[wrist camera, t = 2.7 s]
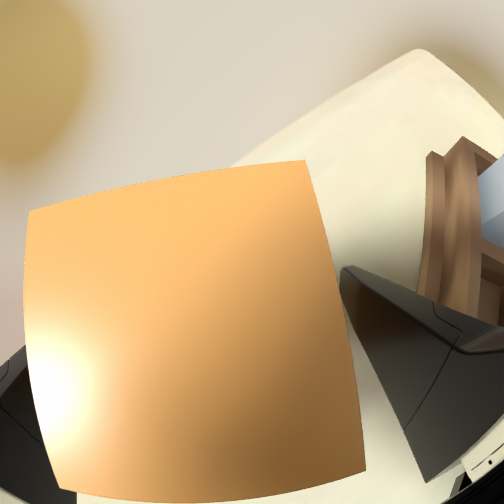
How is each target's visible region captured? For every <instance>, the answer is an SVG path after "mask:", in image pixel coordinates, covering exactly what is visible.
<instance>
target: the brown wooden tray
mask: <svg viewBox="0 0 504 504" xmlns="http://www.w3.org/2000/svg"><path fill="white" fill-rule="evenodd" d="M497 160H498V159H497V158H495V157H494V156H493V155H491V154H490V153H488V152H487V151H485V150H484V149H482V148H481V147H479V146H478V145H476V144H475V143H473V142H471V141H470V140H468V139H467V138H465V137H463V136H462V137H461V138H460V139H459V141H458V142H457V143H456V144H455V145H454V146H453V147H452V148H451V149H450V150H449V152H448V153H447V154H446V155H445V156H444V157H443V156H441V155H439V154H437V153H435V152H433V151H431V152H430V153H429V154H428V156H427V157H426V208H425V225H424V238H423V249H422V258H421V266H420V274H419V281H418V287H417V293H418V294H420V295H422V296H424V297H426V298H429V299H431V300H432V301H435V302H438V303H440V304H442V305H444V306H447V307H449V308H451V309H453V310H456V311H459V312H461V313H464V314H466V315H469V316H472V317H474V318H477V319H480V320H482V321H485V322H488V323H490V324H493V325H496V326H499V327H504V250H503V249H502V248H500V247H498V246H496V245H495V244H493V243H491V242H489V241H488V240H486V239H484V238H482V232H481V208H480V195H479V185H478V176H480V175H481V174H482V173H483V172H484V171H485V170H487V169H488V168H489V167H490V166H491V165H492V164H493V163H495V162H496V161H497Z"/></svg>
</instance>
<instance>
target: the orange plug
mask: <svg viewBox="0 0 504 504" xmlns="http://www.w3.org/2000/svg"><path fill="white" fill-rule="evenodd" d="M24 325H25V340H26V351H27V360H28V368H29V375H30V381H31V387H32V393H33V398H34V403H35V408H36V413H37V417H38V421H39V425H40V429H41V433H42V437H43V440H44V444H45V447H46V450H47V454H48V457H49V460H50V463H51V466H52V469H53V471H54V474H55V477H56V480H57V482H58V485H59V487H60V488H62V489H66V490H70V491H74V492H79V493H83V494H89V495H94V496H100V497H106V498H113V499H120V500H129V501H140V502H154V503H211V502H225V501H236V500H245V499H253V498H260V497H267V496H273V495H278V494H284V493H289V492H293V491H298V490H302V489H307V488H311V487H315V486H319V485H322V484H326V483H329V482H333V481H336V480H340V479H343V478H346V477H349V476H352V475H355V474H358V473H361V472H364V471H366V463H365V451H364V441H363V431H362V423H361V414H360V406H359V399H358V392H357V385H356V378H355V372H354V366H353V359H352V354H351V348H350V342H349V337H348V331H347V326H346V321H345V316H344V311H343V306H342V301H341V296H340V292H339V287H338V283H337V278H336V274H335V269H334V265H333V261H332V257H331V252H330V248H329V244H328V240H327V236H326V233H325V229H324V225H323V221H322V217H321V214H320V210H319V206H318V203H317V199H316V196H315V192H314V189H313V185H312V182H311V178H310V175H309V172H308V168H307V165H306V162H305V160H299V161H288V162H277V163H268V164H259V165H250V166H242V167H234V168H227V169H220V170H213V171H206V172H200V173H193V174H187V175H181V176H176V177H170V178H165V179H159V180H155V181H149V182H144V183H139V184H134V185H130V186H125V187H121V188H116V189H111V190H107V191H103V192H99V193H95V194H90V195H86V196H83V197H79V198H75V199H71V200H68V201H64V202H60V203H57V204H53V205H49V206H46V207H43V208H40V209H36V210H33V211H30V213H29V220H28V228H27V238H26V250H25V264H24Z"/></svg>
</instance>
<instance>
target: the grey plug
mask: <svg viewBox="0 0 504 504" xmlns="http://www.w3.org/2000/svg"><path fill="white" fill-rule="evenodd" d="M478 185H479V195H480V208H481V232H482V238H484V239H486V240H488V241H489V242H491V243H493V244H495V245H496V246H498V247H500V248H502V249H503V250H504V154H503V155H502V156H501V157H500V158H499V159H498V160H497V161H496V162H495V163H493V164H492V165H491V166H490V167H489V168H488V169H487V170H485V171H484V172H483V173H482V174H481V175H480V176H478Z"/></svg>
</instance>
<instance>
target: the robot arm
mask: <svg viewBox="0 0 504 504" xmlns="http://www.w3.org/2000/svg"><path fill="white" fill-rule="evenodd" d="M339 291H340V295H341V297H342V300H343V303H344V305H345V308H346V310H347V313H348V315H349V318H350V321H351V323H352V326H353V328H354V330H355V332H356V334H357V336H358V338H359V340H360V342H361V344H362V346H363V348H364V350H365V352H366V354H367V356H368V358H369V360H370V362H371V364H372V366H373V368H374V370H375V372H376V374H377V376H378V378H379V380H380V382H381V384H382V386H383V388H384V390H385V393H386V395H387V397H388V399H389V401H390V403H391V405H392V407H393V410H394V412H395V414H396V416H397V418H398V420H399V423H400V425H401V427H402V429H403V430H404V434H405V436H406V439H407V441H408V443H409V445H410V448H411V450H412V452H413V455H414V457H415V459H416V462H417V464H418V467H419V469H420V471H421V474H422V476H423V479H424V481H425V483H428V482H430V481H432V480H433V479H435V478H437V477H439V476H440V475H442V474H444V473H445V472H447V471H449V470H450V469H452V468H454V467H455V466H457V465H458V464H460V463H462V465H463V467H464V469H465V470H466V471H465V472H464V473H462V474H461V475H460V476H458V477H457V478H456V480H455V483H454V486H453V489H452V492H451V494H450V497H449V499H447V500H446V501H444V502H442V503H441V504H504V327H499V326H496V325H493V324H490V323H488V322H485V321H482V320H480V319H477V318H474V317H472V316H469V315H466V314H464V313H461V312H459V311H456V310H453V309H451V308H449V307H447V306H444V305H442V304H440V303H438V302H435V301H432V300H431V299H429V298H426V297H424V296H422V295H420V294H418V293H415V292H413V291H411V290H409V289H406V288H404V287H402V286H400V285H397V284H395V283H393V282H390V281H388V280H386V279H384V278H381V277H379V276H377V275H374V274H372V273H370V272H367V271H365V270H363V269H360V268H358V267H356V266H353V265H351V266H345V267H342V268H341V271H340V283H339ZM0 504H77V492H74V491H70V490H66V489H62V488H60V487H59V485H58V482H57V480H56V477H55V474H54V471H53V469H52V466H51V463H50V460H49V457H48V454H47V450H46V447H45V444H44V440H43V437H42V433H41V429H40V425H39V421H38V417H37V413H36V408H35V403H34V398H33V393H32V387H31V381H30V375H29V368H28V360H27V351H26V345H24V347H22V348H21V349H20V350H19V351H18V352H16V353H15V354H14V355H13V356H12V357H11V358H10V360H7V361H6V362H5V363H4V364H3V365H2V366H1V367H0Z"/></svg>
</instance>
